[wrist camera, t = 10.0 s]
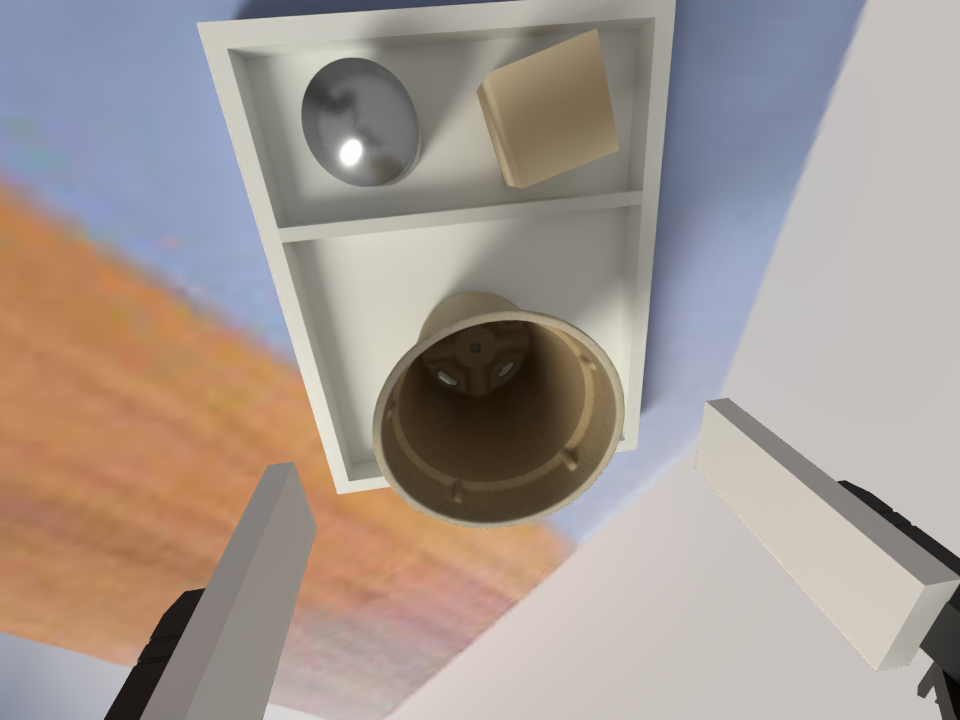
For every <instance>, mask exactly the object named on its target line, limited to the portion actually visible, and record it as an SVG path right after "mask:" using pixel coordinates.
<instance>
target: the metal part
mask: <svg viewBox="0 0 960 720" xmlns="http://www.w3.org/2000/svg"><path fill="white" fill-rule="evenodd" d="M301 121H302V128H303V133H304V137H305V139H306V142H307V145H308V147H309V149H310V151H311V153H312V154H313V156H314V157H315V159H316V160H317V161H318V163H319V164H320V165H321V166H322V167H323V168H324V169H325V170H326V171H327V172H328V173H330V174H331V175H332V176H334V177H335V178H337V179H339V180H340V181H343V182H345V183H347V184H350V185H354V186H360V187H384V186H390V185H394V184H396V183H399V182H401V181H402V180H404V179H405V178H406V177H408V176H409V175H410V174H411V172H412V171H413V170H414V168H415V167H416V165H417V163H418V161H419V159H420V156H421V151H422V144H423V137H422V129H421V125H420V122H419V119H418V116H417V113H416V111H415V108H414V105H413V103H412V100H411V98H410V96H409V94H408V92H407V90H406V89H405V87H404V86H403V84H402V83H401V82H400V81H399V80H398V78H397V77H396V76H395V75H394V74H392V73H391V72H390V71H389V70H388V69H386V68H385V67H383V66H382V65H380V64H378V63H376V62H373V61H370V60H368V59H363V58H354V57H350V58H342V59H338V60H335V61H333V62H331V63H329V64H327V65H326V66H324V67H323V68H321V69H320V70H319V71H318V72H317V73H316V74H315V76H314V77H313V78H312V79H311V81H310V83H309V84H308V86H307V89H306V91H305V94H304V97H303V101H302V109H301Z"/></svg>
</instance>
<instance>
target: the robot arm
mask: <svg viewBox="0 0 960 720" xmlns="http://www.w3.org/2000/svg"><path fill="white" fill-rule="evenodd" d="M694 468H695V469H696V470H697V471H698V473H699V474H700V475H701V476H702V477H703V478H704V479H705V480H706V482H707V483H708V484H709V485H710V486H711V487H712V488H713V489H714V490H715V492H716V493H717V494H718V495H719V496H720V497H721V498H722V499H723V501H724V502H725V503H726V504H727V505H728V506H729V507H730V508H731V509H732V511H733V512H734V513H735V514H736V515H737V516H738V517H739V518H740V520H741V521H742V522H743V523H744V524H745V525H746V526H747V527H748V529H749V530H750V531H751V532H752V533H753V534H754V535H755V536H756V538H758V540H759V541H760V542H761V543H762V544H763V545H764V546H765V547H766V549H767V550H768V551H769V552H770V553H771V554H772V555H773V557H774V558H775V559H776V560H777V561H778V562H779V563H780V564H781V566H782V567H783V568H784V569H785V570H786V571H787V572H788V573H789V574H790V576H791V577H793V579H794V580H795V581H796V582H797V583H798V584H799V586H800V587H801V588H802V589H803V590H804V591H805V592H806V593H807V595H808V596H809V597H810V598H811V599H812V600H813V601H814V602H815V604H816V605H817V606H818V607H819V608H820V609H821V610H822V611H823V612H824V614H825V615H826V616H827V617H828V618H829V619H830V620H831V622H832V623H833V624H834V625H835V626H836V627H837V628H838V629H839V631H840V632H841V633H842V634H843V635H844V636H845V637H846V638H847V639H848V640H849V642H850V643H851V644H852V645H853V646H854V647H855V648H856V649H857V651H858V652H859V653H860V654H861V655H862V656H863V657H864V659H865V660H866V661H867V662H868V663H869V664H870V665H871V666H872V667H873V669H874V670H875V671H876V672H877V671H882V670H887V669H892V668H897V667H902V666H907V665H909V664H910V663H911V661H912V659H913V658H914V656H915V654H916V653H917V651H918V650H919V648H921V649H923V651H925V653H927V654H928V655H929V656H930V657H931V658H932V659H933V660H934V662H933V664H932V665H931V667H930V668H929V670H928V671H927V673H926V674H925V676H924V677H923V679H922V680H921V682H920V683H919V685H918V693H917V695H918V696H920V697H923V698H925V697H926V696H927V694H928V693H929V691H930V690H931V688H932V687H933V685H934V688H935V692H936V696H937V699H936V700H935V703H937V704H939V708H940V712H941V716H942V720H960V558H958V557H957V556H956V555H954V554H953V553H952V552H951V551H949V550H948V549H946V548H945V547H944V546H942V545H941V544H940V543H938V542H937V541H936V540H934V539H933V538H932V537H930V536H929V535H927V534H926V533H925V532H923V531H922V530H921V529H919V528H918V527H917V526H912V525H911V522H910V521H908V520H907V519H905V518H904V517H903V516H901V515H900V514H899V513H898V512H893V509H892V508H891V507H889V506H888V505H887V504H885V503H884V502H882V501H881V500H880V499H878V498H877V497H876V496H874V495H873V494H872V493H870V492H868V491H866V490H864V489H862V488H860V487H858V486H855V485H853V484H852V483H850V482H848V481H845V480H844V481H838V482H836V481H835V480H834V479H832V478H831V477H830V476H828V475H827V474H826V473H824V472H823V471H822V470H821V469H819V468H818V467H817V466H816V465H814V464H813V463H812V462H810V461H809V460H808V459H806V458H805V457H804V456H803V455H801V454H800V453H799V452H797V451H796V450H795V449H793V448H792V447H791V446H790V445H788V444H787V443H785V442H784V441H783V440H782V439H780V438H779V437H778V436H777V435H775V434H774V433H773V432H771V431H770V430H769V429H767V428H766V427H765V426H763V425H762V424H761V423H760V422H758V421H757V420H756V419H755V418H753V417H752V416H751V415H749V414H748V413H747V412H745V411H744V410H743V409H742V408H740V407H739V406H737V405H736V404H735V403H734V402H732V401H731V400H730V399H729V398H724V399H718V400H711V401H706V402H705V408H704V414H703V420H702V425H701V431H700V437H699V443H698V448H697V454H696V460H695V465H694ZM316 529H317V526H316V524H315V521H314V518H313V515H312V512H311V509H310V507H309V504H308V501H307V498H306V495H305V492H304V490H303V487H302V484H301V481H300V478H299V475H298V473H297V470H296V467H295V464H294V462H288V463H282V464H275V465H268V466H267V468H266V470H265V472H264V474H263V476H262V478H261V480H260V482H259V484H258V486H257V488H256V490H255V492H254V494H253V496H252V498H251V500H250V502H249V504H248V506H247V507H246V509H245V511H244V513H243V515H242V517H241V519H240V521H239V523H238V525H237V527H236V529H235V531H234V533H233V535H232V537H231V539H230V541H229V543H228V545H227V547H226V549H225V551H224V553H223V555H222V557H221V559H220V561H219V563H218V565H217V567H216V569H215V571H214V573H213V575H212V577H211V579H210V581H209V583H208V585H207V587H206V588H203V589H197V590H191V591H185V592H184V593H183V594H182V595H181V596H180V597H179V598H178V599H177V600H176V602H175V603H174V604H173V605H172V606H171V607H170V608H169V609H168V610H167V611H166V612H165V613H164V614H163V616H162V618H161V620H160V621H159V623H158V625H157V627H156V628H155V630H154V632H153V634H152V636H151V637H150V639H149V644H147V645H146V646H145V648H144V650H143V651H142V653H141V655H140V657H139V658H138V660H137V665H136V666H134V667H133V669H132V671H131V672H130V674H129V676H128V678H127V680H126V681H125V683H124V685H123V687H122V688H121V690H120V692H119V694H118V696H117V697H116V699H115V701H114V702H113V704H112V706H111V708H110V709H109V711H108V713H107V715H106V717H105V718H104V720H263V716H264V713H265V709H266V705H267V702H268V699H269V695H270V692H271V688H272V685H273V681H274V677H275V674H276V670H277V667H278V663H279V660H280V656H281V653H282V649H283V646H284V642H285V639H286V635H287V632H288V628H289V625H290V621H291V618H292V614H293V610H294V607H295V603H296V600H297V596H298V593H299V589H300V586H301V582H302V579H303V575H304V572H305V568H306V565H307V561H308V558H309V554H310V550H311V547H312V543H313V540H314V536H315V533H316Z"/></svg>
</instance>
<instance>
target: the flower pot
mask: <svg viewBox="0 0 960 720" xmlns="http://www.w3.org/2000/svg"><path fill="white" fill-rule="evenodd" d="M505 320H513V321H511V322H510V323H507V322H506V321H505ZM473 346H479V347H480V350H479V351H478V352H474V351H473V350H472V347H473ZM509 363H513V364H514V365H513V366H512V368H511V369H510V370H509V371H508V372H507V373H506V374H505V375H504V376H501V377H499V374H500V373H501V371H502V370H503V367H506V366H507V365H508V364H509ZM440 371H442V372H443V373H444V374H446V375H447V376H449V377H450V378H452V379H453V380H455V381H457V384H456V385H453V384H448V383H446V382H445V381H443V380H442V379H441V378H440V377H439V374H438V373H439V372H440ZM624 419H625V403H624V393H623V388H622V384H621V381H620V377H619V374H618V372H617V370H616V368H615V366H614V365H613V363H612V361H611V360H610V358H609V357H608V356H607V354H606V352H605V351H604V350H603V349H602V348H601V347H600V346H599V345H598V344H597V342H595V341H594V340H593V339H592V338H591V337H590V336H589V335H587V334H586V333H585V332H583V331H582V330H581V329H579V328H577V327H576V326H574V325H572V324H570V323H568V322H566V321H564V320H562V319H559V318H557V317H555V316H552V315H548V314H545V313H541V312H536V311H530V310H521V309H519V308H518V307H517V306H515V305H514V304H513V303H512V302H510V301H509V300H507V299H505V298H503V297H501V296H499V295H496V294H493V293H489V292H469V293H463V294H459V295H456V296H453V297H451V298H449V299H447V300H445V301H444V302H442V303H441V304H439V305H438V306H437V307H436V308H435V309H434V310H433V311H432V312H431V313H430V315H429V316H428V317H427V319H426V320H425V322H424V324H423V326H422V328H421V331H420V334H419V337H418V340H417V343H416V344H415V345H414V346H413V347H412V348H411V349H410V350H408V351H407V352H406V353H405V354H404V355H403V357H402V358H401V359H400V360H399V361H398V362H397V364H396V365H395V366H394V368H393V369H392V371H391V373H390V374H389V376H388V377H387V379H386V381H385V383H384V385H383V387H382V389H381V391H380V394H379V396H378V399H377V402H376V406H375V410H374V416H373V423H372V439H373V447H374V453H375V456H376V459H377V463H378V465H379V468H380V470H381V471H382V473H383V476H384V478H385V480H386V481H387V482H388V484H389V485H390V486H391V487H392V489H393V490H394V491H395V492H396V493H397V494H398V496H400V497H401V498H402V499H403V500H404V501H406V503H408V504H409V505H411V506H412V507H414V508H415V509H417V510H418V511H419V512H421V513H423V514H426V515H428V516H430V517H433V518H435V519H437V520H440V521H443V522H446V523H448V524H453V525H456V526H462V527H469V528H486V529H488V528H502V527H510V526H516V525H519V524H525V523H528V522H533V521H535V520H537V519H541V518H543V517H545V516H548V515H550V514H552V513H554V512H556V511H559V510H560V509H562V508H563V507H565V506H566V505H568V504H570V503H571V502H572V501H574V500H575V499H577V498H578V497H580V495H581V494H582V493H584V492H585V491H586V490H588V489H589V488H590V486H591V485H592V484H593V482H594V481H596V480H597V478H598V477H599V475H600V474H601V473H602V472H603V470H604V469H605V468H606V466H607V465H608V463H609V462H610V460H611V458H612V456H613V454H614V452H615V451H616V449H617V445H618V443H619V441H620V438H621V433H622V430H623V424H624Z"/></svg>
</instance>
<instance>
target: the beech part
mask: <svg viewBox="0 0 960 720" xmlns="http://www.w3.org/2000/svg"><path fill="white" fill-rule="evenodd" d="M476 93H477V96H478V100H479V103H480V106H481V109H482V112H483V116H484V119H485V122H486V125H487V129H488V132H489V135H490V138H491V142H492V145H493V148H494V151H495V154H496V158H497V161H498V164H499V167H500V171H501V174H502V177H503V180H504V184H505V185H507V186H512V187H517V188H522V189H523V188H526V187H528V186H531V185H533V184H536V183H538V182H541V181H543V180H546V179H548V178H551V177H553V176H556V175H558V174H561V173H563V172H566V171H568V170H571V169H573V168H576V167H578V166H581V165H583V164H586V163H588V162H591V161H593V160H596V159H598V158H601V157H603V156H606V155H608V154H611V153H613V152H616V151H618V150H620V148H619V143H618V138H617V132H616V127H615V122H614V116H613V111H612V106H611V100H610V95H609V90H608V84H607V79H606V74H605V68H604V63H603V58H602V52H601V47H600V42H599V37H598V31H597V28H596V29H594V30H591V31H589V32H586V33H584V34H581V35H579V36H577V37H574V38H572V39H569V40H567V41H565V42H562V43H560V44H557V45H555V46H552V47H550V48H548V49H545V50H543V51H540V52H538V53H535V54H533V55H531V56H528V57H526V58H523V59H521V60H519V61H516V62H514V63H511V64H509V65H506V66H504V67H502V68H499V69H497V70H494V71H492V72H489V73H488V75H487V76H486V78H485V79H484V81H483V82H482V84H481V85H480V86H479V88H478V89H477V91H476Z"/></svg>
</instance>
